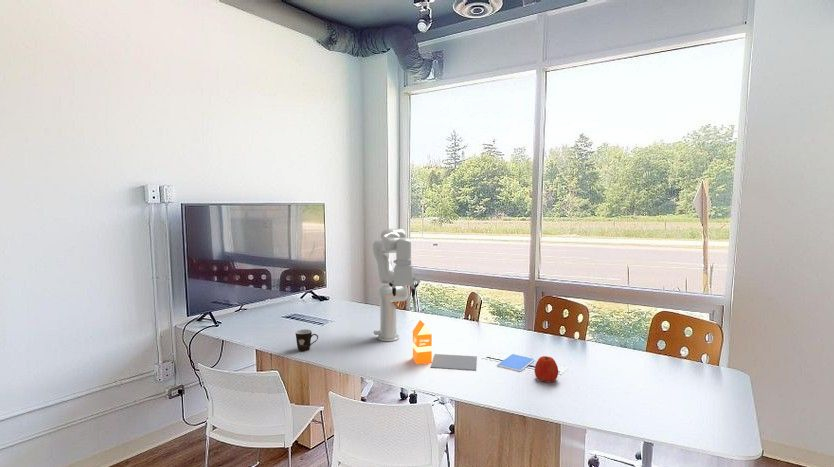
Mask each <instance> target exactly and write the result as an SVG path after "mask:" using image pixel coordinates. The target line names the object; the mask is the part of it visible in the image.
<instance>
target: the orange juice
mask: <svg viewBox="0 0 834 467" xmlns="http://www.w3.org/2000/svg"><path fill="white" fill-rule="evenodd" d="M432 339H433V338H432V332H431V331H430V330H429V329H428V327H427V326H426V324H425V323H424V322H423V321H422V320H421V319H419V320H418V322H417V324H416V325H415V326H414V328H413V330H412V359H413V360H415V361H414V362H415V363H416V364H417V365H423V364H424V365H425V364H432V361H433V359H432V358H433V355H432V354H433V353H432V352H433V351H432V348H433V347H432V345H433V344H432V343H433V341H432Z"/></svg>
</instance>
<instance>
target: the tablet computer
mask: <svg viewBox="0 0 834 467" xmlns="http://www.w3.org/2000/svg"><path fill="white" fill-rule="evenodd" d="M534 360H535V359H534V358H532V357H528V356H523V355H519V354H514V353H513V354H510V355H509V356H507V357H506V358H504V359H503V360H502V361H500V362H499V363H497V364H496V366H497V367H498V368H502V369H507V370H511V371H513V372H514V371H515V372H519V373H520V372H522V371H523V370H525V369H526V368H527V367H528V366H529V365H530V364H533V362H535V361H534Z"/></svg>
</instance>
